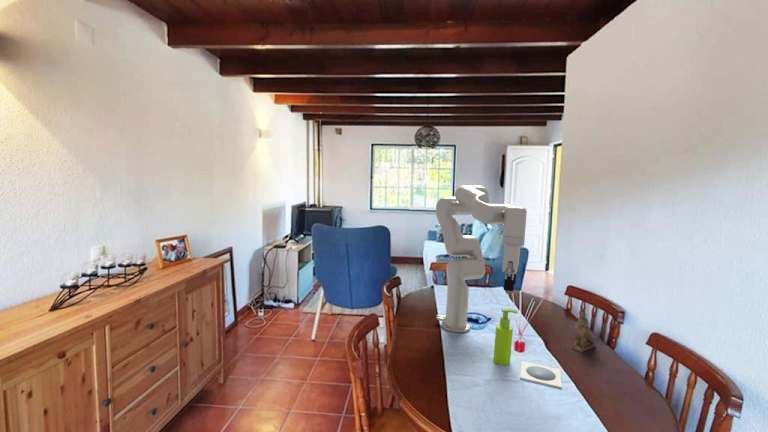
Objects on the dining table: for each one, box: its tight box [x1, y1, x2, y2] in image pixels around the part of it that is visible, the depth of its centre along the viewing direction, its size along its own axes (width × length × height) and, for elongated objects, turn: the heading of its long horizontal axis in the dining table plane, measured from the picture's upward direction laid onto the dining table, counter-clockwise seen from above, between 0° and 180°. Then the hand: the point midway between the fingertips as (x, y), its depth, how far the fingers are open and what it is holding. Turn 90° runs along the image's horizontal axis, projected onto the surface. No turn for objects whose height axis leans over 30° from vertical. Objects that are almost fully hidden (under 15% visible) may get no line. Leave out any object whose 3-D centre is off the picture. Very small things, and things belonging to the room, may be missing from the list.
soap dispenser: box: [493, 308, 518, 366], centre depth 141 cm, size 6×7×20 cm
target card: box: [519, 360, 563, 390], centre depth 134 cm, size 13×13×1 cm
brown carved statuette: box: [570, 310, 596, 353], centre depth 157 cm, size 12×6×18 cm, turn 121°
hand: (509, 287), depth 139 cm, fingers open, 9 cm apart
